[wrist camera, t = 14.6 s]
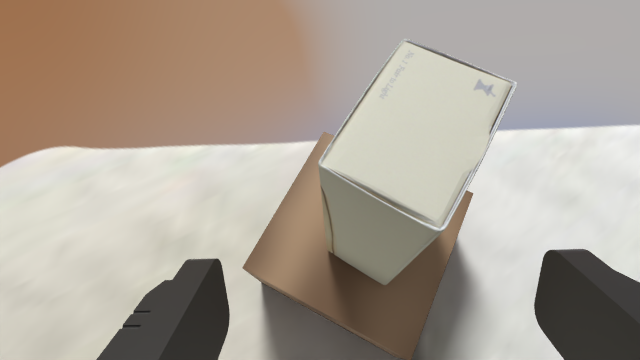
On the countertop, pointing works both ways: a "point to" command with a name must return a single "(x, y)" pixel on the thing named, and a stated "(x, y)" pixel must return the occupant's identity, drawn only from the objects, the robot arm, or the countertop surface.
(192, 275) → the robot arm
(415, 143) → the skincare box
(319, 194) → the walnut block
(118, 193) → the countertop surface
